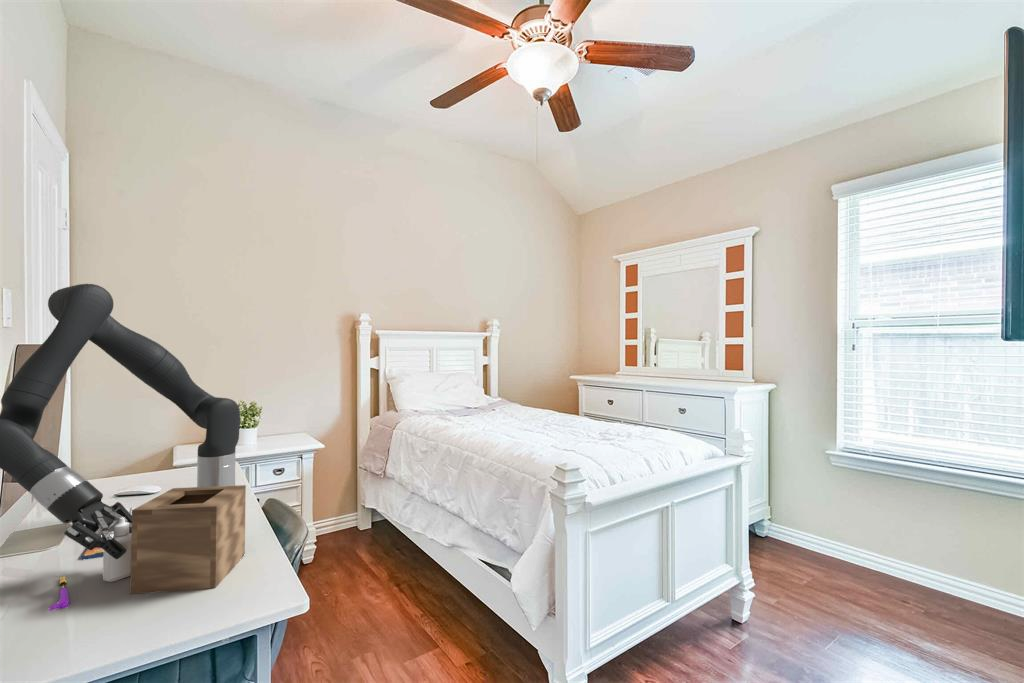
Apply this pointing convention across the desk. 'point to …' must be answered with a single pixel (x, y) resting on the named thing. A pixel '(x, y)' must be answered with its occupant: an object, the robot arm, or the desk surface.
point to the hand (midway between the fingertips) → (131, 548)
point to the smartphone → (93, 553)
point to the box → (187, 538)
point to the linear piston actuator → (62, 596)
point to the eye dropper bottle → (121, 566)
